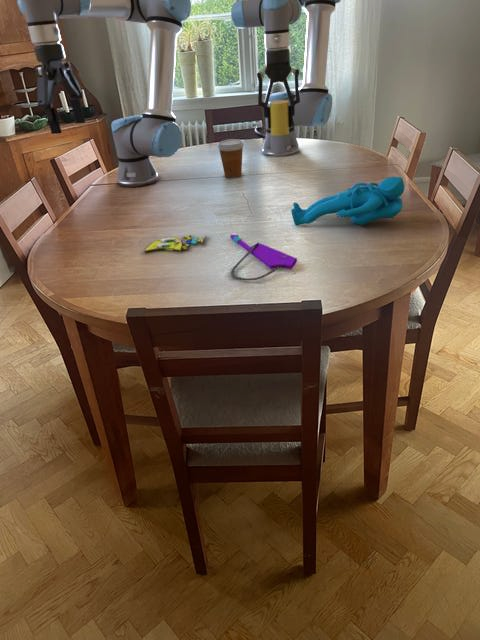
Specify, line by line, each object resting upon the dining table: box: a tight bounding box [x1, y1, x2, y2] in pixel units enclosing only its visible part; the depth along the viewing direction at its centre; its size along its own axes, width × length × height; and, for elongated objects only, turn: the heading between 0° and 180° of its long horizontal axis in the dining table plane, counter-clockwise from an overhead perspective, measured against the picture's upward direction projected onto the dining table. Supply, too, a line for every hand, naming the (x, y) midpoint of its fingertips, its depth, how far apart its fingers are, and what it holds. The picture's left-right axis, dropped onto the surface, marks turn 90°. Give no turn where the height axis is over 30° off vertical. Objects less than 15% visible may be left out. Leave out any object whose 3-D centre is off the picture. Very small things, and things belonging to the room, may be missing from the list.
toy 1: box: [144, 234, 207, 254], centre depth 130 cm, size 10×1×15 cm
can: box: [270, 100, 289, 136], centre depth 160 cm, size 6×6×10 cm
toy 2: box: [290, 176, 405, 227], centre depth 131 cm, size 17×11×30 cm
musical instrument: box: [229, 234, 298, 281], centre depth 118 cm, size 24×2×20 cm
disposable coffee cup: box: [217, 138, 245, 178], centre depth 178 cm, size 10×10×12 cm
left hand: (69, 128), depth 139 cm, fingers open, 13 cm apart
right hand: (279, 126), depth 162 cm, fingers closed on can, 6 cm apart
